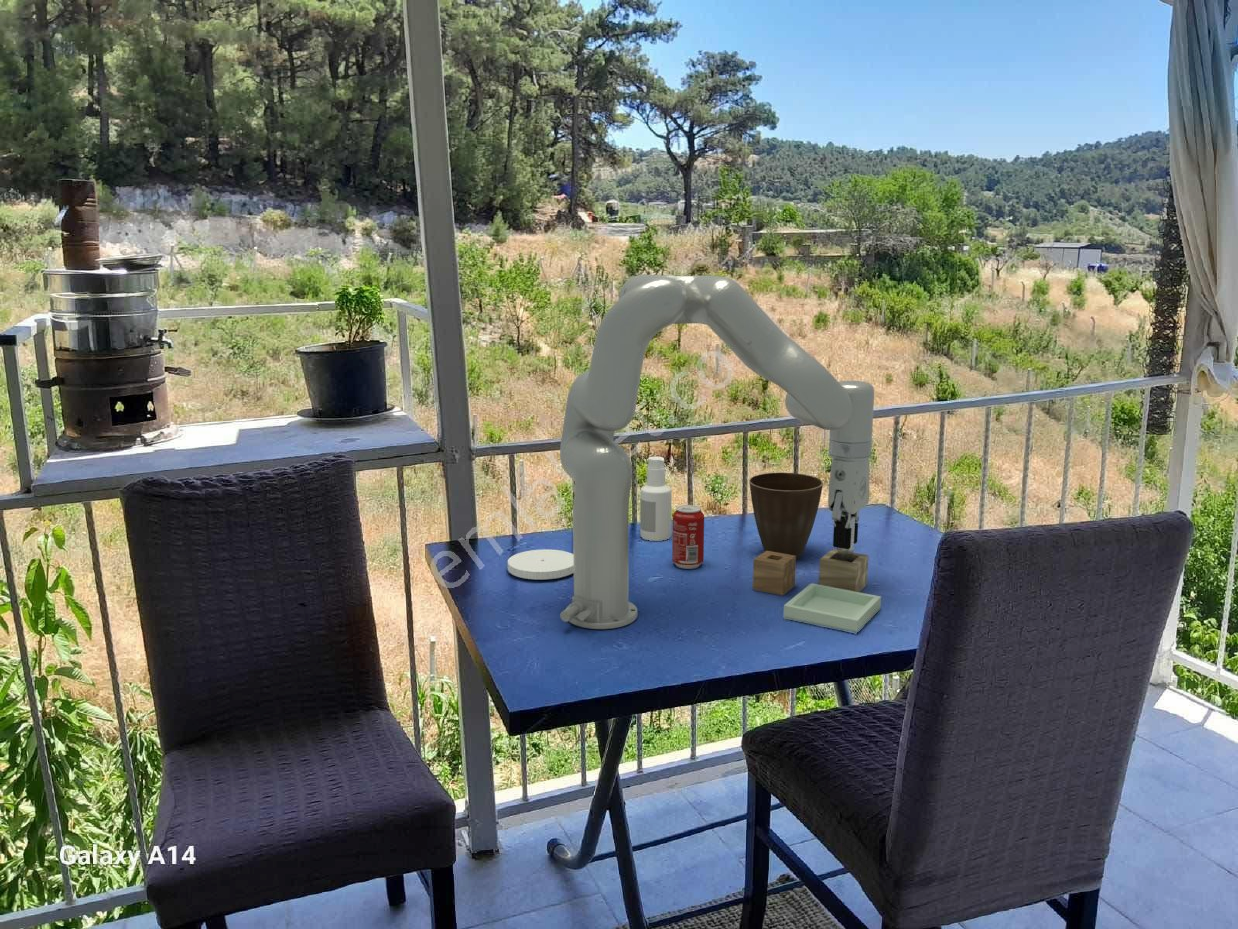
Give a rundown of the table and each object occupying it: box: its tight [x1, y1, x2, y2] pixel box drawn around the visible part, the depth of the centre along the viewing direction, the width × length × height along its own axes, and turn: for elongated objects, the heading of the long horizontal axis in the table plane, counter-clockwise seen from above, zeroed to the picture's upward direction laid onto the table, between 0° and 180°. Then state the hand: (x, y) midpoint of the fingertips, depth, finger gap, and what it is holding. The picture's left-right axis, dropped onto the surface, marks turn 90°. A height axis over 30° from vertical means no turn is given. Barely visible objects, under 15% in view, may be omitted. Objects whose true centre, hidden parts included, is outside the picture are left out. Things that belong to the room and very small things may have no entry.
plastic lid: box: [507, 548, 574, 581], centre depth 189 cm, size 14×14×2 cm
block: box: [752, 551, 797, 596], centre depth 178 cm, size 6×6×6 cm
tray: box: [782, 582, 882, 633], centre depth 166 cm, size 13×13×2 cm
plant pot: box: [748, 472, 824, 560], centre depth 196 cm, size 15×15×16 cm
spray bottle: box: [639, 456, 672, 542], centre depth 209 cm, size 7×7×18 cm
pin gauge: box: [836, 515, 856, 562], centre depth 177 cm, size 3×3×10 cm
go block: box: [818, 548, 869, 593], centre depth 179 cm, size 7×7×6 cm
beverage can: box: [671, 504, 705, 570], centre depth 191 cm, size 6×6×12 cm
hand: (845, 544), depth 177 cm, fingers closed on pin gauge, 3 cm apart
